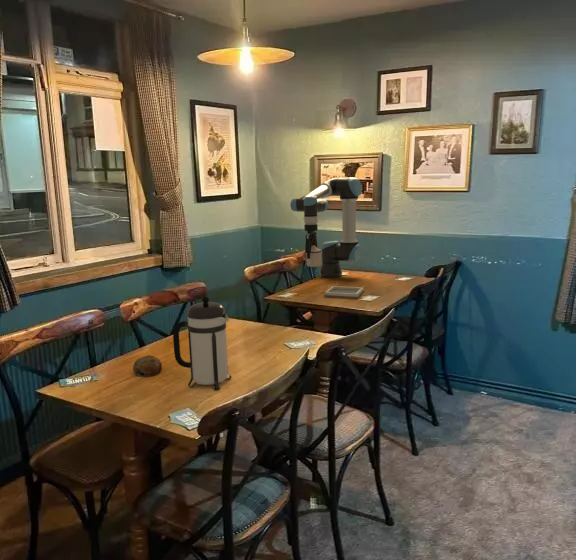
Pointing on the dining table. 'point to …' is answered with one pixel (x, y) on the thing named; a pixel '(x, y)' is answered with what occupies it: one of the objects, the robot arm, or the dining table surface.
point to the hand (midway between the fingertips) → (311, 262)
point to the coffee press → (205, 343)
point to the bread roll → (147, 366)
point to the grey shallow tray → (344, 292)
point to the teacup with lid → (314, 257)
